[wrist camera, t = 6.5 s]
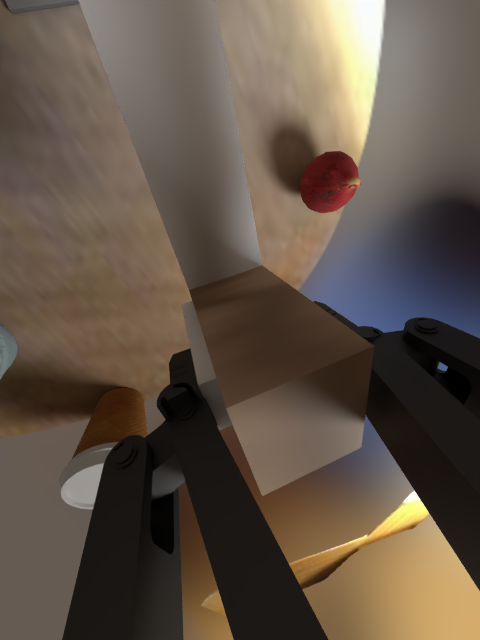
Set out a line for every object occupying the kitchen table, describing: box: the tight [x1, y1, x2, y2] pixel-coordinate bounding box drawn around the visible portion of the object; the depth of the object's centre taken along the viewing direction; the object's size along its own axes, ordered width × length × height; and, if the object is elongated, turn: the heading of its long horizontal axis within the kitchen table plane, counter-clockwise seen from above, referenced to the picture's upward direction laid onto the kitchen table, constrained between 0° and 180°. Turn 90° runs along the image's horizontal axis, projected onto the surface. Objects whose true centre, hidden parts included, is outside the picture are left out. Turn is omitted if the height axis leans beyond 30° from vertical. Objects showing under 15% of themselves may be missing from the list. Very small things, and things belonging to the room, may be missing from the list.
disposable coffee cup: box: [59, 388, 148, 509], centre depth 30 cm, size 10×10×12 cm
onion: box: [300, 151, 361, 213], centre depth 25 cm, size 6×6×8 cm
